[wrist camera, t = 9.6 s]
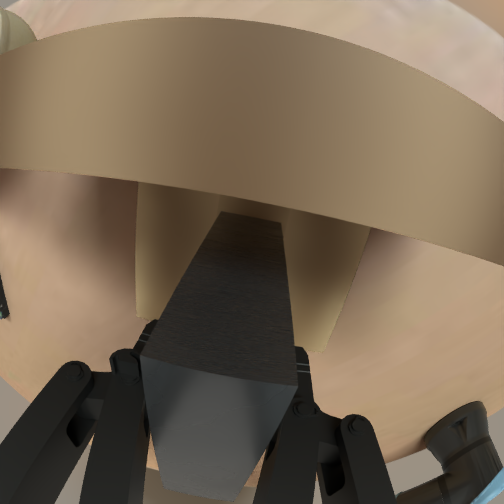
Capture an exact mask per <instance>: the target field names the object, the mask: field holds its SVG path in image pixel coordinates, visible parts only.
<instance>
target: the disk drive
mask: <svg viewBox="0 0 504 504" xmlns="http://www.w3.org/2000/svg"><path fill="white" fill-rule="evenodd" d="M9 314H10V313H9V310H8V306H7V301H6V298H5V294H4V290H3V285H2V280H1V275H0V319H2V318H4V319H5V318H6V317H7V316H8V315H9Z"/></svg>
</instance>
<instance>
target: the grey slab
mask: <svg viewBox="0 0 504 504" xmlns="http://www.w3.org/2000/svg"><path fill="white" fill-rule="evenodd" d="M140 362H141V371H142V379H143V387H144V394H145V401H146V407H147V413H148V419H149V425H150V430H151V435H152V440H153V445H154V450H155V455H156V459H157V463H158V467H159V471H160V475H161V479H162V483H163V487H164V488H165V489H168V490H172V491H176V492H181V493H185V494H190V495H195V496H200V497H205V498H211V499H217V500H225V501H231V502H234V500H235V498H236V497H237V495H238V494H239V492H240V490H241V489H242V488H243V486H244V485H245V483H246V481H247V480H248V478H249V477H250V475H251V473H252V472H253V470H254V468H255V467H256V465H257V463H258V462H259V460H260V458H261V456H262V455H263V453H264V451H265V449H266V448H267V446H268V444H269V442H270V440H271V439H272V437H273V435H274V433H275V431H276V429H277V428H278V426H279V424H280V422H281V420H282V418H283V416H284V414H285V412H286V410H287V408H288V406H289V404H290V402H291V400H292V398H293V396H294V394H295V392H296V390H297V388H298V377H297V365H296V353H295V342H294V332H293V322H292V312H291V302H290V293H289V284H288V275H287V266H286V258H285V250H284V241H283V233H282V226H281V223H280V222H275V221H270V220H265V219H260V218H255V217H250V216H245V215H240V214H235V213H229V212H224V211H221V212H220V214H219V215H218V217H217V219H216V220H215V222H214V224H213V225H212V227H211V229H210V230H209V232H208V234H207V235H206V237H205V239H204V240H203V242H202V244H201V245H200V247H199V249H198V250H197V252H196V254H195V256H194V257H193V259H192V261H191V263H190V264H189V266H188V268H187V269H186V271H185V273H184V275H183V276H182V278H181V280H180V282H179V284H178V285H177V287H176V289H175V291H174V292H173V294H172V296H171V298H170V300H169V302H168V303H167V305H166V307H165V309H164V311H163V312H162V314H161V316H160V318H159V320H158V322H157V324H156V325H155V327H154V329H153V331H152V333H151V335H150V337H149V339H148V341H147V343H146V344H145V346H144V348H143V350H142V352H141V354H140Z"/></svg>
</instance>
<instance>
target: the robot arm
mask: <svg viewBox="0 0 504 504" xmlns="http://www.w3.org/2000/svg"><path fill="white" fill-rule="evenodd" d="M157 322H158V320H157V319H154V320H153V321H151V322H150V323H148V324H147V325H146V327H145V328H144V330H143V332H142V334H141V335H140V337H139V340H138V341H137V343H136V344H135V346H134V348H133V349H121V350H117V351H116V352H114V353H113V354H112V355H111V356H110V358H109V360H110V365H111V370H112V372H95V371H91V370H90V368H89V366H88V365H86V364H85V363H84V362H80V361H70V362H67V363H65V364H64V365H63V366H62V367H61V368H60V369H59V370H58V371H57V372H56V374H55V375H54V376H53V377H52V378H51V380H50V381H49V382H48V383H47V384H46V386H45V387H44V388H43V389H42V391H41V392H40V393H39V394H38V395H37V397H36V398H35V399H34V400H33V402H32V403H31V404H30V406H29V407H28V408H27V409H26V411H25V412H24V413H23V415H22V416H21V417H20V419H19V420H18V421H17V422H16V424H15V425H14V426H13V428H12V429H11V431H10V432H9V434H8V435H7V436H6V437H5V439H4V440H3V442H2V443H1V444H0V504H54V503H55V501H56V500H57V498H58V496H59V494H60V492H61V490H62V489H63V487H64V485H65V483H66V481H67V480H68V478H69V476H70V474H71V473H72V471H73V469H74V467H75V466H76V464H77V462H78V460H79V459H80V457H81V455H82V453H83V452H84V450H85V448H86V447H87V445H88V443H89V442H90V440H91V438H92V436H93V435H94V437H93V441H92V445H91V449H90V453H89V458H88V462H87V466H86V471H85V475H84V480H83V485H82V491H81V496H80V502H79V504H143V492H144V481H145V472H146V463H147V455H148V447H149V440H150V432H151V430H150V425H149V419H148V413H147V407H146V401H145V394H144V387H143V379H142V371H141V362H140V354H141V352H142V350H143V348H144V346H145V344H146V343H147V341H148V339H149V337H150V335H151V333H152V331H153V329H154V327H155V325H156V324H157ZM295 353H296V365H297V377H298V388H297V390H296V392H295V394H294V396H293V398H292V400H291V402H290V404H289V406H288V408H287V410H286V412H285V414H284V416H283V418H282V420H281V422H280V424H279V426H278V428H277V429H276V431H275V433H274V435H273V437H272V439H271V440H270V442H269V444H268V446H267V448H266V452H265V457H264V461H263V465H262V469H261V473H260V477H259V481H258V485H257V489H256V493H255V497H254V500H253V504H313V497H314V489H315V481H316V472H317V475H318V481H319V486H320V492H321V498H322V504H486V503H488V502H489V501H490V500H492V499H493V498H494V497H496V496H497V495H498V494H499V493H500V492H502V491H503V490H504V467H503V466H502V463H501V461H500V458H499V456H498V453H497V451H496V449H495V447H494V444H493V442H492V440H491V438H490V435H489V431H488V421H487V411H486V409H485V407H484V405H483V403H482V402H480V401H476V402H472V403H469V404H467V405H465V406H463V407H461V408H459V409H457V410H455V411H454V412H452V413H450V414H449V415H447V416H446V417H445V418H443V419H442V420H440V421H439V422H438V423H437V424H436V425H434V426H433V427H432V428H431V429H430V430H429V432H428V433H427V434H426V436H425V438H424V441H425V444H426V447H427V449H428V450H429V451H431V452H432V454H433V455H434V457H435V458H436V459H437V460H438V461H439V462H440V463H441V466H442V469H443V472H444V474H442V475H440V476H438V477H437V478H434V479H432V480H430V481H428V482H425V483H423V484H421V485H419V486H416V487H414V488H412V489H409V490H407V491H404V492H400V493H398V494H397V495H394V491H393V488H392V484H391V481H390V478H389V475H388V471H387V468H386V465H385V462H384V459H383V456H382V453H381V450H380V447H379V444H378V441H377V438H376V435H375V432H374V429H373V426H372V425H371V423H370V421H369V420H367V419H366V418H365V417H363V416H361V415H357V414H351V415H347V416H346V417H345V418H343V419H340V418H336V417H333V416H330V415H328V414H325V413H324V412H322V411H321V410H320V408H319V406H318V405H317V404H316V403H315V402H314V398H313V390H312V382H311V374H310V366H309V359H308V355H307V353H306V351H305V350H304V348H303V347H300V346H295ZM94 433H95V434H94ZM441 494H442V495H441Z"/></svg>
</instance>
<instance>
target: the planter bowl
mask: <svg viewBox="0 0 504 504" xmlns="http://www.w3.org/2000/svg"><path fill="white" fill-rule="evenodd" d="M35 41H37V39H36V37H35V35H34V33H33V31H32V29H31V28H30V27H29V25H28V24H27V23H26V22H25V21H24V20H23V19H22V18H21V17H19V16H18V15H16V14H15V13H12V12H10V11H8V10H4V9H3V8H2V7H0V55H1V54H3V53H5V52H8V51H10V50H13V49H15V48H18V47H21V46H23V45H26V44H29V43H32V42H35Z"/></svg>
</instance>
